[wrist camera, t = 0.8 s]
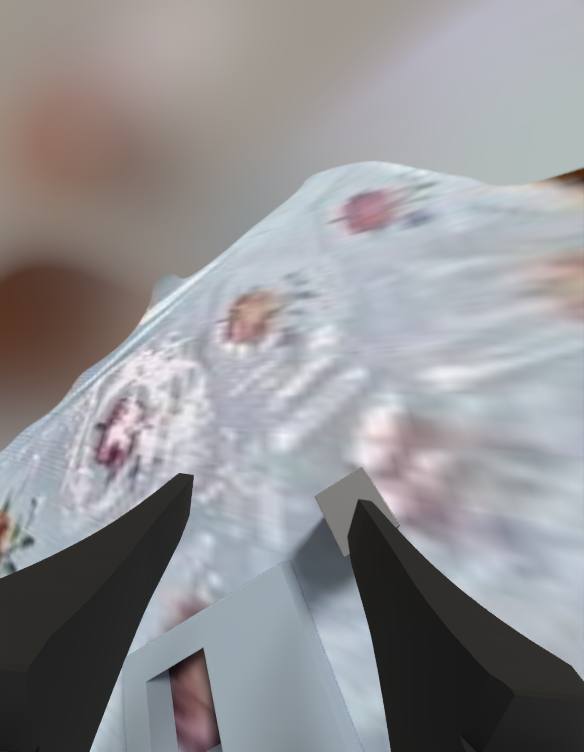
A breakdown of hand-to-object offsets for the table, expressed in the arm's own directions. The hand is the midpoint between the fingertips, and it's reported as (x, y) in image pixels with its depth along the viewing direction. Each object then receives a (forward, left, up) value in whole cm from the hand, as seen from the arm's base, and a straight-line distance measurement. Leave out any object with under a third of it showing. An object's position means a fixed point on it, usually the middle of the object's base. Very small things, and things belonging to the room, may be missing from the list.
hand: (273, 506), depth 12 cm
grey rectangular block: (-1, -2, -16) cm, 16 cm away
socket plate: (-8, +14, -16) cm, 22 cm away
